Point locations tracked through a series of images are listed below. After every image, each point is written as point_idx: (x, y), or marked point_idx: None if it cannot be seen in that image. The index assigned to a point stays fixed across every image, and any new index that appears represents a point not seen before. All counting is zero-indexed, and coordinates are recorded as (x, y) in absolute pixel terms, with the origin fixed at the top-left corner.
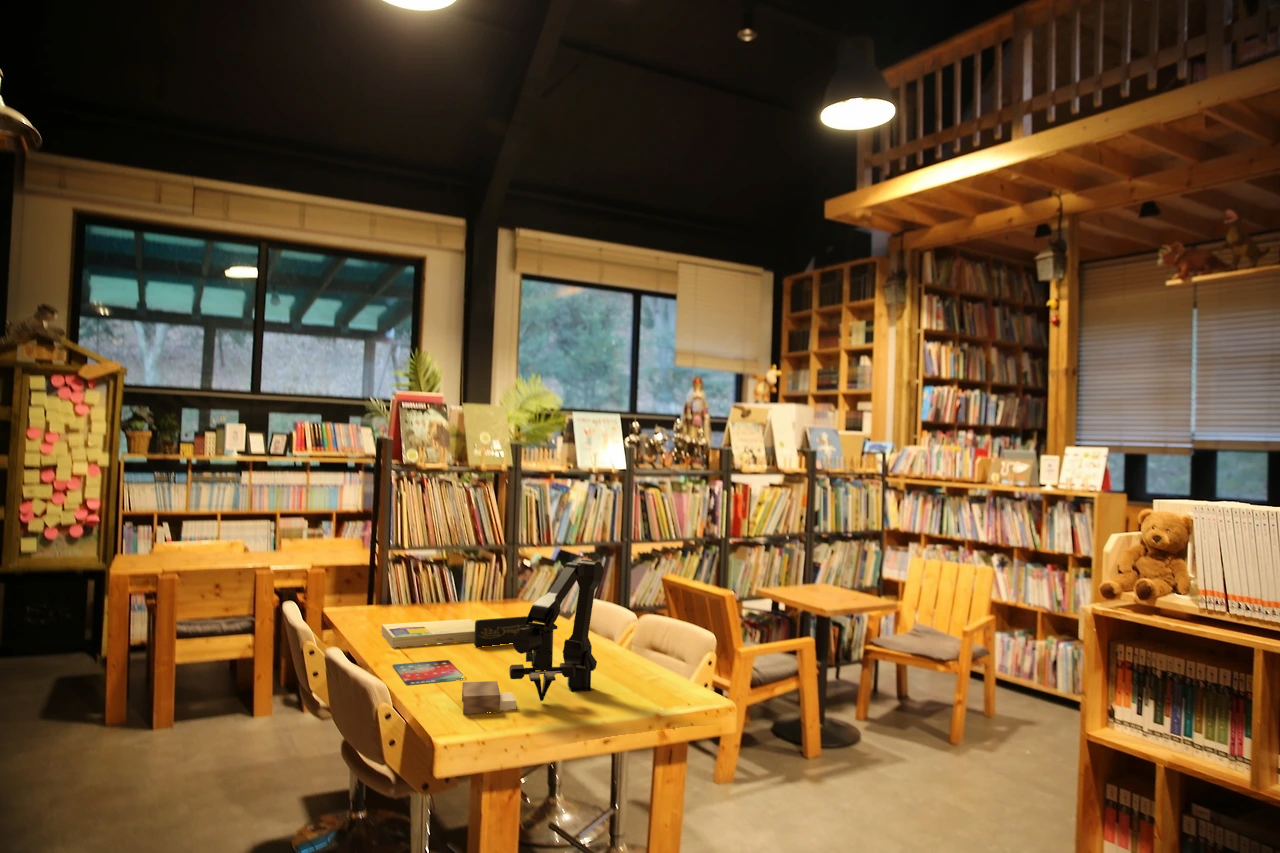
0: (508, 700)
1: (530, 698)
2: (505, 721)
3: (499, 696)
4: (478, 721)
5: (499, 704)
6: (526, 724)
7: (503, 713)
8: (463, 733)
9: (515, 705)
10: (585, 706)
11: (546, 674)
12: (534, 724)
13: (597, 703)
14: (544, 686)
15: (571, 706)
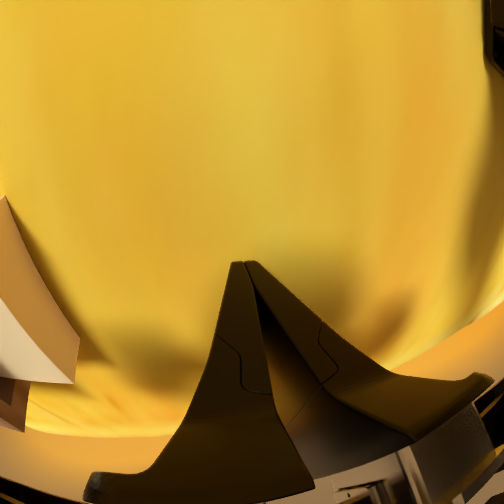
0: (36, 377)
1: (154, 104)
2: (90, 405)
3: (22, 425)
4: None
5: (26, 392)
6: (160, 418)
7: None
8: (37, 420)
9: (75, 359)
10: (417, 294)
11: (343, 497)
12: (183, 418)
13: (462, 261)
14: (281, 420)
15: (377, 298)
